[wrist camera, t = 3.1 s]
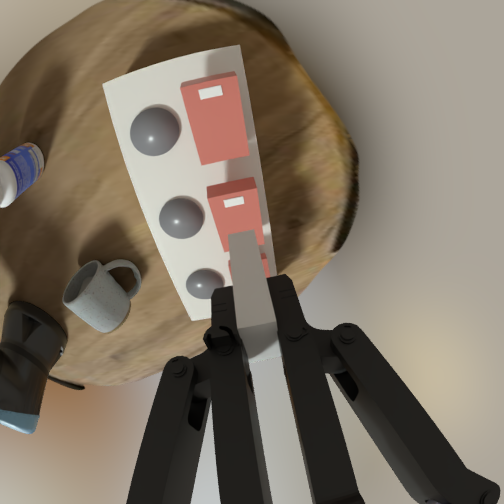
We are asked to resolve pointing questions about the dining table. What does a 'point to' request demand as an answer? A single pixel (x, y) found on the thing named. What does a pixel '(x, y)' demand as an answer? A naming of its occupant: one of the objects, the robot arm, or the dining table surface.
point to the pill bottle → (19, 171)
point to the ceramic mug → (100, 295)
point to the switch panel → (183, 170)
